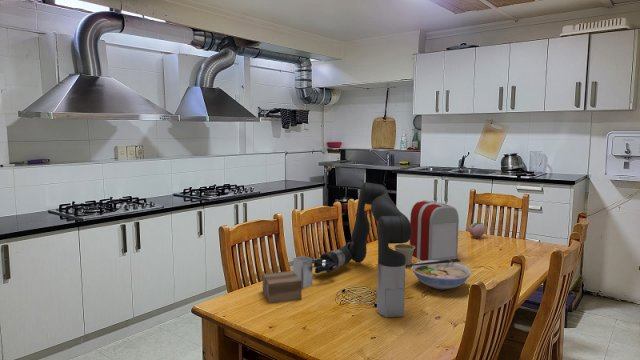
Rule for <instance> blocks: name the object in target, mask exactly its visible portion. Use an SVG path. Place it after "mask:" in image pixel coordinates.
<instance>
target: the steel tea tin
mask: <svg viewBox="0 0 640 360" xmlns="http://www.w3.org/2000/svg"><path fill="white" fill-rule="evenodd" d="M292 260H293V261H292V269H293V270H292V271H294V272H295V274H296V275H297V276H298V277H299V278H300V280H301V281H302V289H305V288H308V287H310V286H312V285H313V268H312V266H313V264H312V258H311V257H310V256H305V255H300V256H297V257H293V258H292Z"/></svg>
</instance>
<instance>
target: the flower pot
mask: <svg viewBox="0 0 640 360" xmlns="http://www.w3.org/2000/svg"><path fill="white" fill-rule="evenodd" d="M393 247H394V250H395V251H398V252H400V253H402V254H404V255H405V257H406V264H405V265H412V260H413V256H412V255H413V251H414V249H415V247H414V246H412V245H410V244H406V243H401V244H400V243H399V244H395V245H393ZM406 267H409V266H406Z"/></svg>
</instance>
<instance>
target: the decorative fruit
mask: <svg viewBox="0 0 640 360" xmlns="http://www.w3.org/2000/svg"><path fill="white" fill-rule="evenodd" d="M468 232H469V234H470V235H471V236H472V237H473V238H476V239H479V238H480V237H482V236H483V235H484V234H485V232H486V227H485V225H484V223H483V222H480V221H479V222H478V220H477V222H474V223H473V222H472V223H471V224H470V225H469V227H468Z"/></svg>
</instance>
